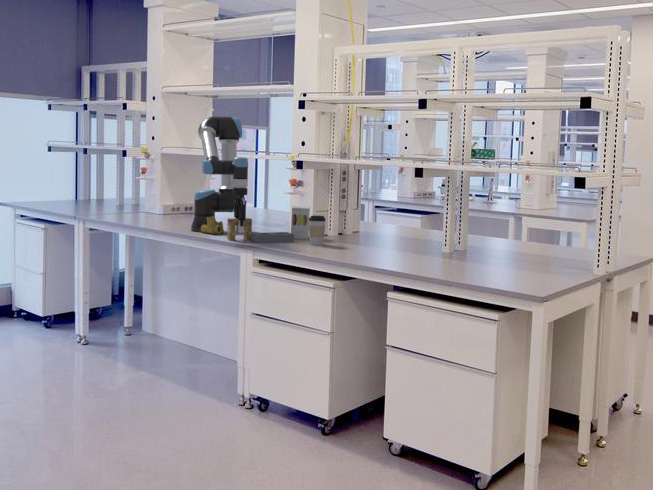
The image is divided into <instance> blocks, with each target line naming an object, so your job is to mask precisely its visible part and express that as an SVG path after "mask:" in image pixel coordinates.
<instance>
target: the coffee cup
mask: <svg viewBox="0 0 653 490" xmlns="http://www.w3.org/2000/svg"><path fill="white" fill-rule="evenodd" d="M326 221H327V220H326V218H325V215H310V216H309V245H310V246H323V245H324V238H325V232H326Z"/></svg>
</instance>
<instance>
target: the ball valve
mask: <svg viewBox="0 0 653 490" xmlns="http://www.w3.org/2000/svg"><path fill="white" fill-rule="evenodd" d="M215 219H216V217H215V218H214V216H211V217H207V225H202V226H201V231H202V232H201V233H203V234H204V233H206V234H209V235H210V234H211V235H218V234H224V233H225V230H224V223H223V221H219V222H218V221H217V220H216V221H215Z"/></svg>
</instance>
